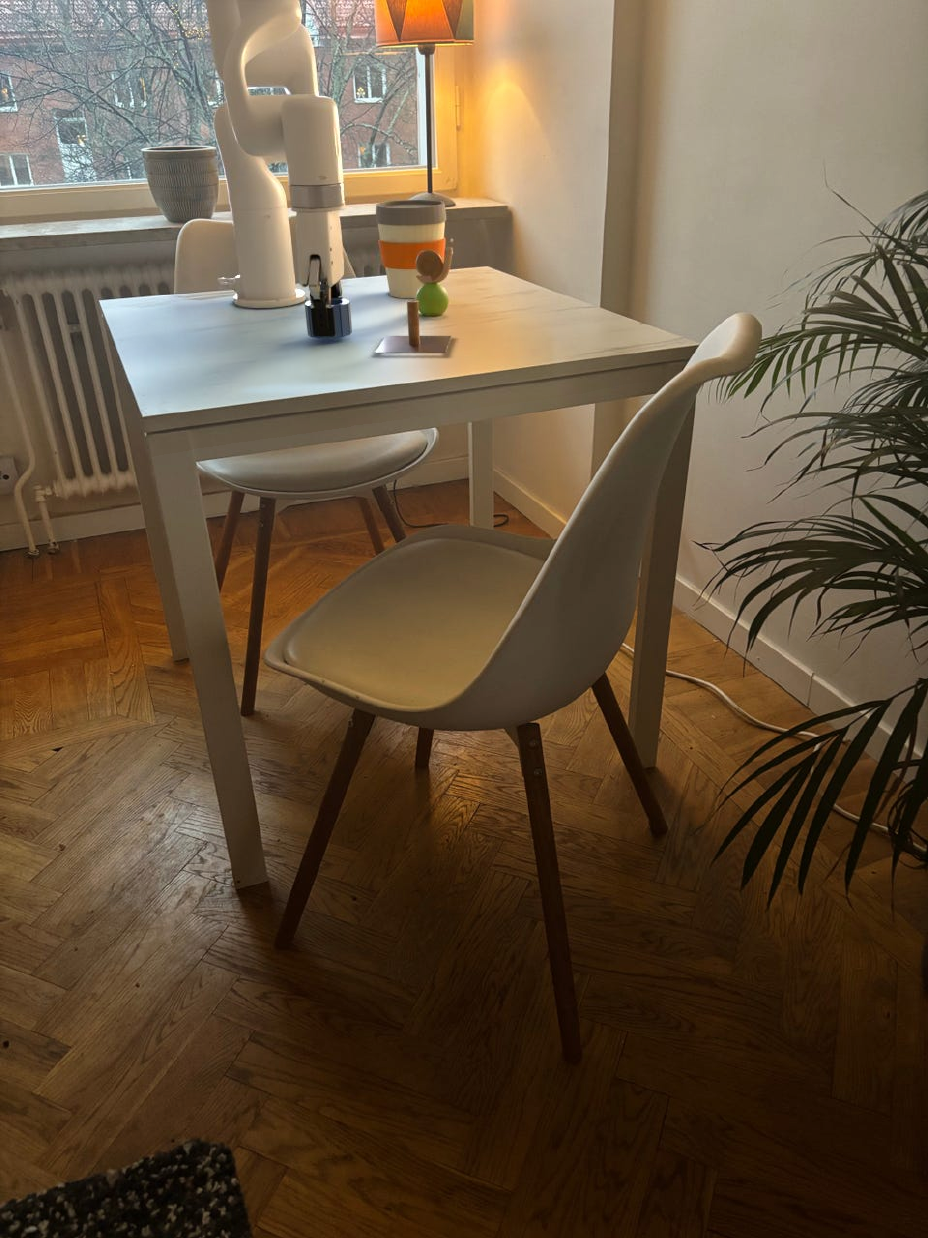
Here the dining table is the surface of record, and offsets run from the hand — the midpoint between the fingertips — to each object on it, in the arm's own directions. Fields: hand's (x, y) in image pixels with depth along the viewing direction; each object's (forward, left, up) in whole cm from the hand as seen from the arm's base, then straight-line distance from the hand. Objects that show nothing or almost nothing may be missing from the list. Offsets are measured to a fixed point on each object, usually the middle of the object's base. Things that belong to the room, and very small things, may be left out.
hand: (329, 329), depth 138 cm
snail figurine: (+14, +17, -2) cm, 22 cm away
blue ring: (0, 0, -1) cm, 1 cm away
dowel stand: (+13, -3, -2) cm, 13 cm away
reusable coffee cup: (+8, +37, -2) cm, 38 cm away
